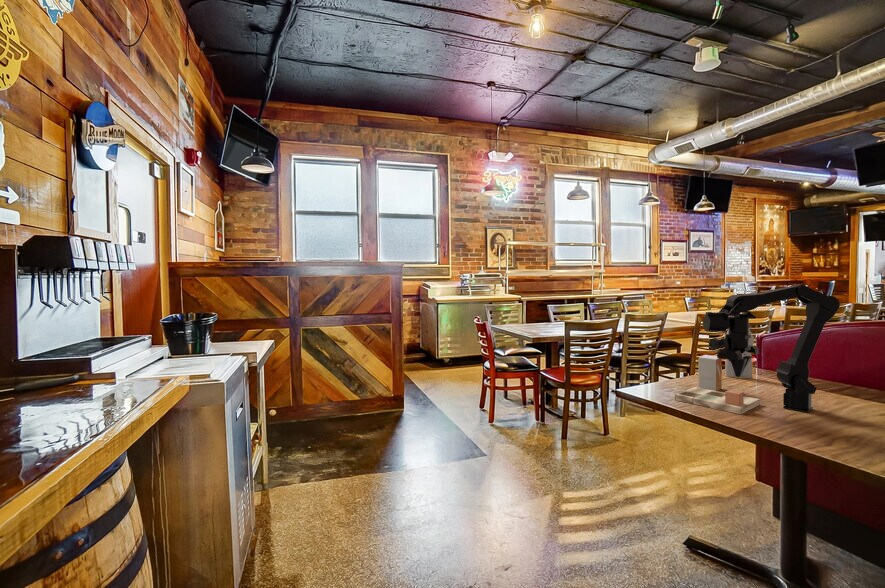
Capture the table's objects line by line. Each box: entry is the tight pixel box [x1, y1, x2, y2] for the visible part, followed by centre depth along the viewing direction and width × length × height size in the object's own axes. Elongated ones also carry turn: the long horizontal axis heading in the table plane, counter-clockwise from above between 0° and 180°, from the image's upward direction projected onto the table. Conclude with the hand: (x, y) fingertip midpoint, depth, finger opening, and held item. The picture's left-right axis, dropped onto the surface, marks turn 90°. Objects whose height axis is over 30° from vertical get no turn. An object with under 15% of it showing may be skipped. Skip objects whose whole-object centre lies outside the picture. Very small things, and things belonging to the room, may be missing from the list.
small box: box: [698, 354, 723, 391], centre depth 170 cm, size 8×6×13 cm
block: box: [724, 389, 745, 406], centre depth 145 cm, size 4×4×4 cm
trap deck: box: [674, 386, 761, 415], centre depth 154 cm, size 21×16×2 cm
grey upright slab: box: [723, 328, 755, 380], centre depth 187 cm, size 11×4×22 cm, turn 61°
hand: (738, 376), depth 147 cm, fingers closed
